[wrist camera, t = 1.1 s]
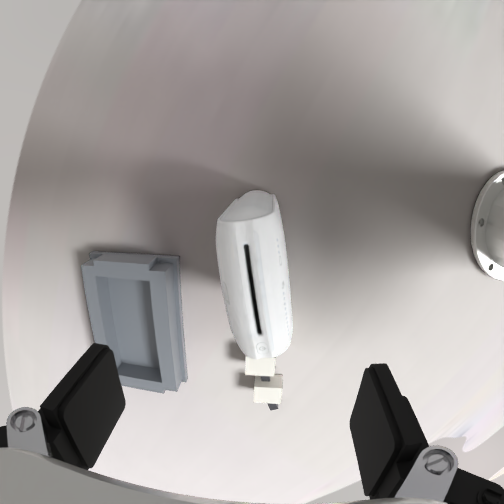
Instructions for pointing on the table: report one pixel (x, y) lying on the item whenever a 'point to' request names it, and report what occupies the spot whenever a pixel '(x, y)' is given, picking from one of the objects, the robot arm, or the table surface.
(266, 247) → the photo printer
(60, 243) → the table surface
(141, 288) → the end holder
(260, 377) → the white cube chain
